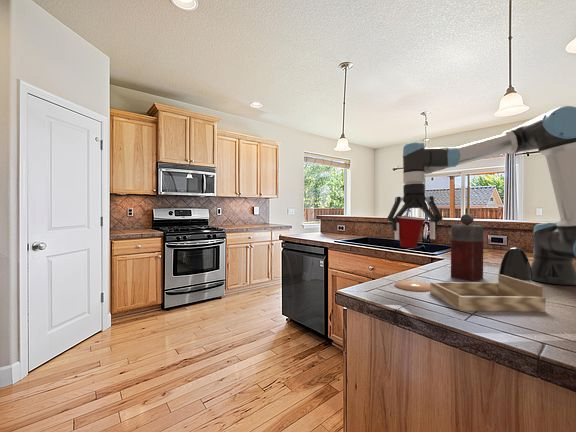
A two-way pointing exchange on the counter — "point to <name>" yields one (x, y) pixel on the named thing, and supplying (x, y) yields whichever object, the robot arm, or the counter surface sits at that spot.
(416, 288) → the saucer
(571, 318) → the counter surface
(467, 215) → the red canister with knob
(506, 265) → the black bullet-shaped dome
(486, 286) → the tray
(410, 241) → the plastic cup
